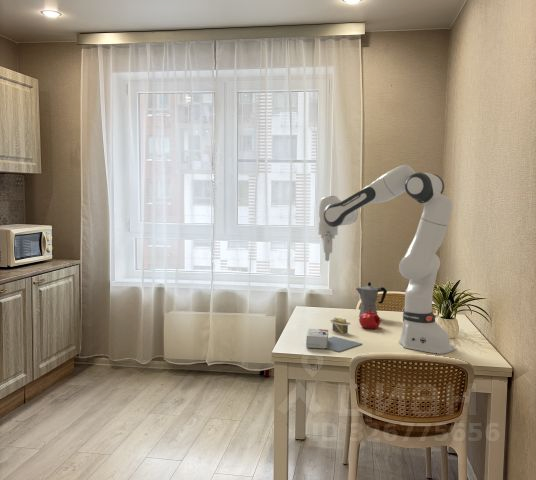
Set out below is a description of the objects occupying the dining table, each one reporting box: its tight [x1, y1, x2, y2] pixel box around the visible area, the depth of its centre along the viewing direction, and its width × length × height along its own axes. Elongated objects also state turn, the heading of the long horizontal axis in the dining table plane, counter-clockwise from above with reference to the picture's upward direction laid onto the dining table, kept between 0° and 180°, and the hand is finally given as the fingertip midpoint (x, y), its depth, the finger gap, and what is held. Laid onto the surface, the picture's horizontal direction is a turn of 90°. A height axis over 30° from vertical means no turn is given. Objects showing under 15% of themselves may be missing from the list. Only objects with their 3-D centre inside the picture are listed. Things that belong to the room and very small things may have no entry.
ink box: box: [305, 328, 329, 349], centre depth 228 cm, size 9×5×12 cm
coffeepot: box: [355, 281, 388, 318], centre depth 277 cm, size 15×9×18 cm, turn 87°
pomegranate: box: [358, 308, 382, 330], centre depth 258 cm, size 10×10×9 cm
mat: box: [326, 335, 363, 353], centre depth 229 cm, size 15×16×1 cm
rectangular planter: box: [330, 317, 351, 334], centre depth 249 cm, size 12×18×7 cm, turn 51°
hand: (327, 260), depth 257 cm, fingers closed
